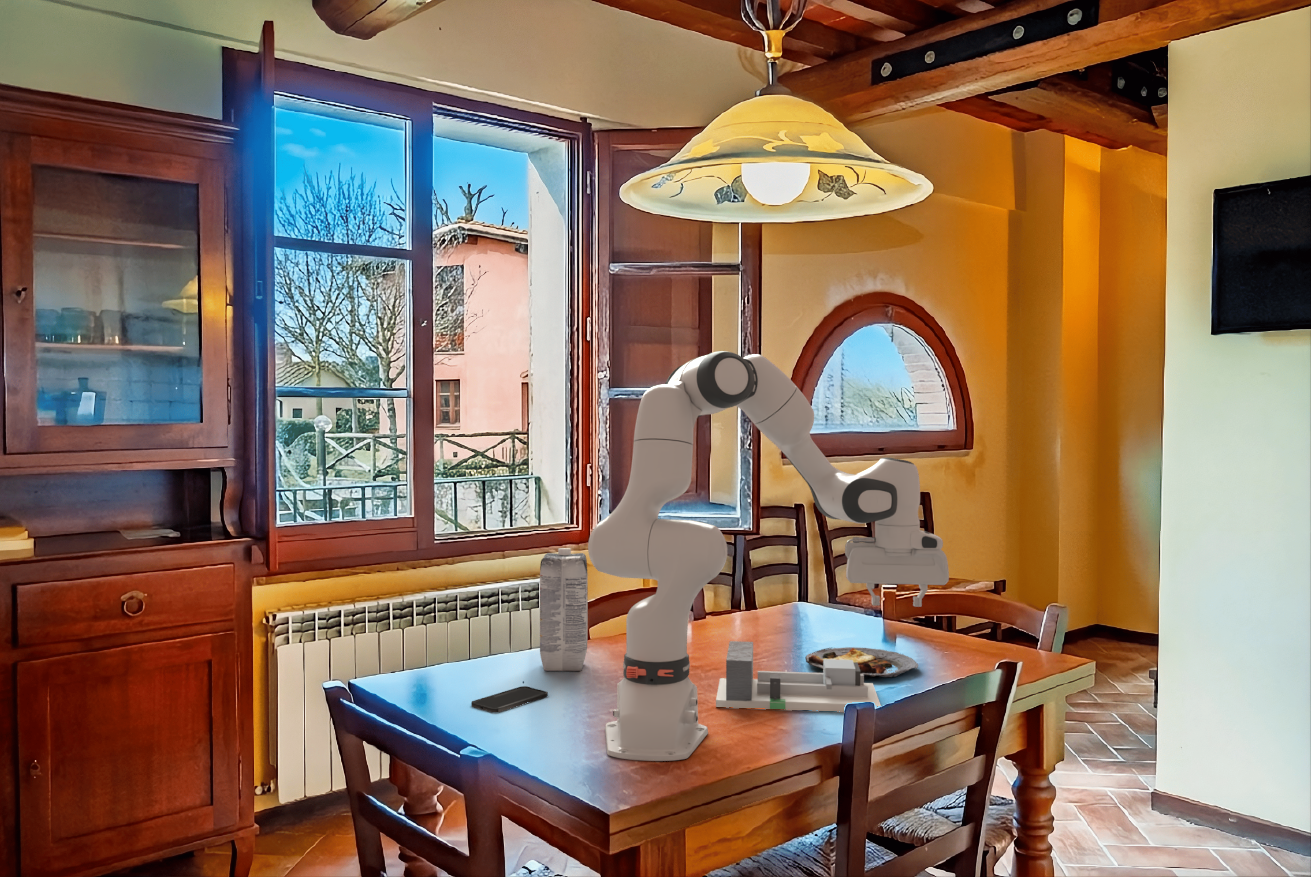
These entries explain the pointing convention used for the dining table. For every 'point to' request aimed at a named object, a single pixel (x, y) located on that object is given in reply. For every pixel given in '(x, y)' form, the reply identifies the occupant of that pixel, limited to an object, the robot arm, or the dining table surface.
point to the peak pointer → (775, 686)
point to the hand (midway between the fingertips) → (896, 605)
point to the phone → (509, 699)
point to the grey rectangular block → (739, 671)
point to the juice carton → (563, 610)
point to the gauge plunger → (840, 673)
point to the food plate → (865, 660)
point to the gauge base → (800, 693)
